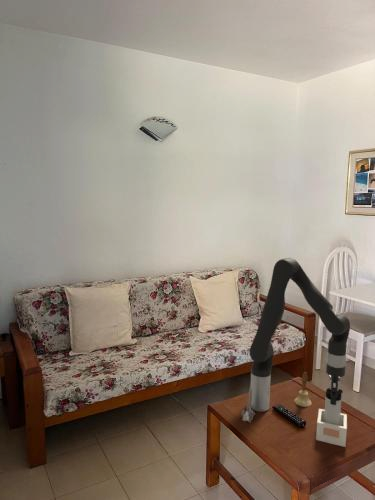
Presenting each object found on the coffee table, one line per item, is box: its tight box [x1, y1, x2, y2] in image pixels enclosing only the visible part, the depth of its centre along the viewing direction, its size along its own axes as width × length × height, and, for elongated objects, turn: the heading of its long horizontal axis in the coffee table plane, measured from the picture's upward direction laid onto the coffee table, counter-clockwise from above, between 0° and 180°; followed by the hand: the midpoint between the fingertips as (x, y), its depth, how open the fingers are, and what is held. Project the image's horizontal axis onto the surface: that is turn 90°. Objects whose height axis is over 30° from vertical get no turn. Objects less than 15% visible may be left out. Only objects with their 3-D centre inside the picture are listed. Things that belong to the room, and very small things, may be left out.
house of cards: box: [241, 402, 256, 423], centre depth 176 cm, size 9×9×8 cm
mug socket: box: [315, 408, 348, 448], centre depth 161 cm, size 11×12×8 cm
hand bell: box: [293, 371, 313, 408], centre depth 187 cm, size 8×8×16 cm
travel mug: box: [324, 387, 343, 426], centre depth 160 cm, size 6×7×20 cm
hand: (333, 399), depth 160 cm, fingers open, 8 cm apart
